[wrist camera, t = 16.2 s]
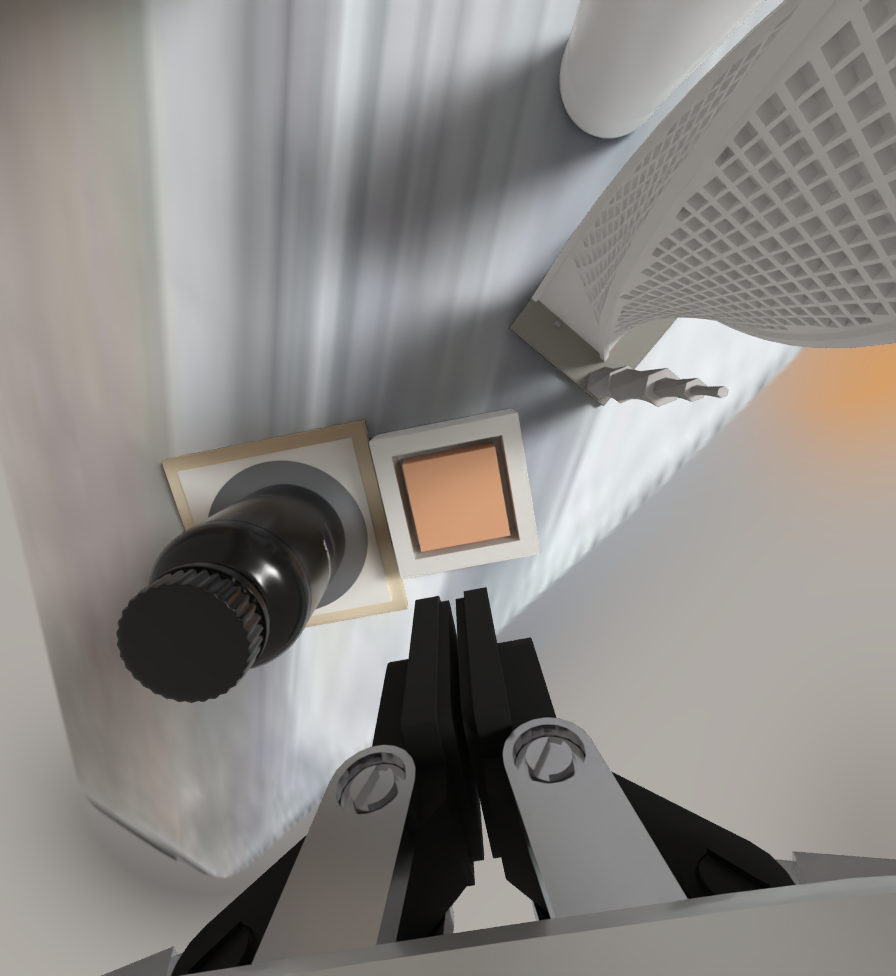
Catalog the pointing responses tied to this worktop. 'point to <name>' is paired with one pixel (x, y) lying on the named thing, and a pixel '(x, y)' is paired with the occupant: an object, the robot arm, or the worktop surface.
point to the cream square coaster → (325, 470)
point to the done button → (456, 496)
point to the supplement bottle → (232, 593)
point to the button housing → (446, 436)
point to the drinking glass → (638, 56)
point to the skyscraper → (742, 210)
